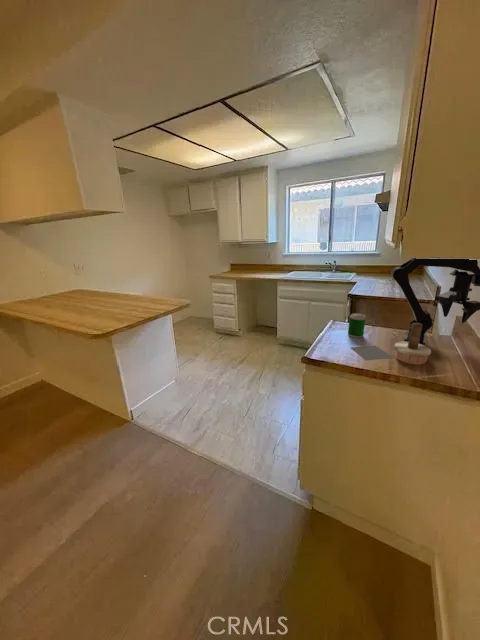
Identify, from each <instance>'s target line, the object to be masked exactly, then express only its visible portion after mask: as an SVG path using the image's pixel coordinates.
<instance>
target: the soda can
mask: <svg viewBox="0 0 480 640" xmlns="http://www.w3.org/2000/svg"><path fill="white" fill-rule="evenodd" d="M366 318H367V317H366V316H365V314H364V313H361V312H353V313H351V314H350V316H349V320H348V330H347V335H348V336H349V337H352V338H355V339H360V338H363V337H364V334H365V326H366Z"/></svg>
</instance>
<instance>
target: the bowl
mask: <svg viewBox="0 0 480 640" xmlns="http://www.w3.org/2000/svg"><path fill="white" fill-rule="evenodd" d="M394 356H395V358H396V359H398V360H399V361H401V362H403V363H406V364H410V365H418V366H419V365H424V364H426V363H427V360H428V357H429V356H425V357H417V356H411V355H407V354H403V353H401V352H399V351H397V350H396V349H395V355H394Z"/></svg>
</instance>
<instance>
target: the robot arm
mask: <svg viewBox="0 0 480 640" xmlns="http://www.w3.org/2000/svg"><path fill="white" fill-rule="evenodd" d="M478 263H479V261H478V259H476V260H469V259H416V258H413V257H412V258H411V259H409V260H408V261H406V262H404V263H403V264H401V265H399V266H395V267H394V268H393V269H392V270H391V272H390V275H391V277H392V279H393V280H394V281H395V282H396V283H397V285H398V286H399V287H400V289H401V291H402V293H403V294H404V297H405V299H406V301H407V303H408V304H409V306H410V309H411V311H412V313H413V318H414V320H412V321H411V322H409V323H408V326H409V328H408V333H407V334H408V335H407V338H404V341H406V342H409V337H410V332H411V327H412V323H420V324H422V330H421V335H420V340H419V344H422V345H426V342H424V341H425V340H424V339H425V335H426V333H427V331H428V330H430V329H431V328H432V327H433V322H434V319H433V318H432V317H431V314H430V312H429V311H428V310H427V309H425V310H423V308H422V306H421V304H420V301H419V300H418V297H417V296H416V294H415V292H414V290H413V288H412V286H411V284H410V277H409V275H410V274H411V273H412V272H413V271H415V270H416V269H417V268H418V267H435V268H436V267H437V268H438V267H439V268H451V269H455V270H453V271H451V272H450V273H449V275H451V276H452V277H453V276H454V277H455V278H454V282H453V286H452V287H451V286H450V288H449V289H448V291H446V292H442V293H440V294H439V293H438V294H437V295H436V296H435V299H434V300H435V301H437V303H438V304H440V306H441V310H442V313H443V317H444V318H447V317H448V315H449V313H450V310H451V308H452V306H453V303H455V304H458V305H461V306H462V308H461V310H462V311H463V313H462V317H461V323H462V324H464V323H467V321H468V320H469V319H470V318H471V317H472V316H473V314H475V313H476V312H478V311H480V301H478V300H470V297H468V296H469V293H470V292H472V291H473V288H471V285H473V286H474V287H480V267H479V265H478ZM459 270H461V271H459ZM468 272H470V273H468Z"/></svg>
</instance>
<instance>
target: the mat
mask: <svg viewBox="0 0 480 640" xmlns="http://www.w3.org/2000/svg"><path fill="white" fill-rule="evenodd" d="M349 348H350V349H351V350H352V351H353V352H355V353H356V354H357V355H359V356H360V357H361V358H362V359H363V360H365V361H373V360H375V361H376V360H383V359H395V357H394V356H392V355H391V354H390V353H387V352H386V351H385V350H383V349H381V348H380V347H379V346H377V345H366V346H365V345H364V346H353V347H349Z"/></svg>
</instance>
